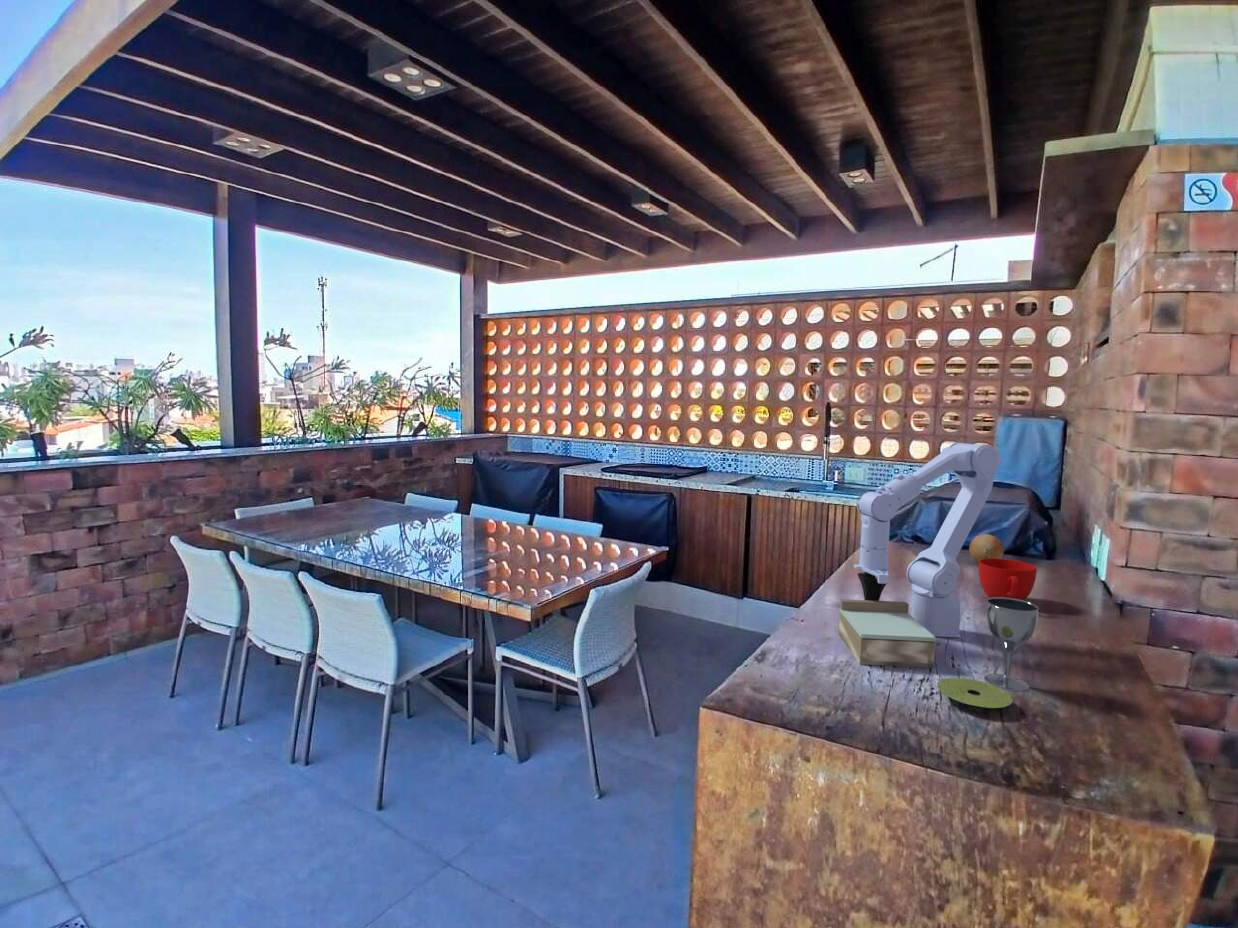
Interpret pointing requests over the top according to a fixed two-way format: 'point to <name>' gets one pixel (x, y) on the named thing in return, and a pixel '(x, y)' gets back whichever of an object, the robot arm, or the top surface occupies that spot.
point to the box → (887, 649)
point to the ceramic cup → (1006, 578)
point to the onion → (986, 547)
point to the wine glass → (1010, 634)
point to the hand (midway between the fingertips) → (871, 606)
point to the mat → (974, 692)
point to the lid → (883, 620)
